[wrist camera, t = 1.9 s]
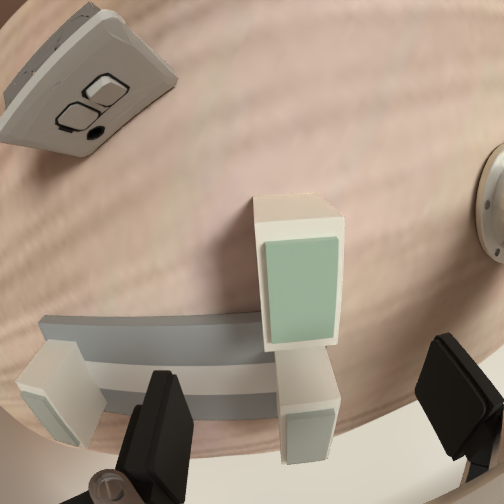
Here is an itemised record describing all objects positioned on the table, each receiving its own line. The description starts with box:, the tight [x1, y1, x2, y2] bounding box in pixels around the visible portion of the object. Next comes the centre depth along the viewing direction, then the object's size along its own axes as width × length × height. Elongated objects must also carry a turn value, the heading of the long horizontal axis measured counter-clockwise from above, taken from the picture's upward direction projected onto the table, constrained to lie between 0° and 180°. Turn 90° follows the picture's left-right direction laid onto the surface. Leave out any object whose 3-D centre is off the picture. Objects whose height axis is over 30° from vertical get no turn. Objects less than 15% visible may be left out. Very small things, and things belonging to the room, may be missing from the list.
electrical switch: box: [0, 2, 178, 158], centre depth 14 cm, size 9×5×9 cm, turn 122°
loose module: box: [253, 192, 345, 352], centre depth 19 cm, size 4×8×8 cm, turn 5°
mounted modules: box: [15, 339, 341, 465], centre depth 22 cm, size 27×9×8 cm, turn 95°
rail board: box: [38, 312, 327, 420], centre depth 26 cm, size 28×13×2 cm, turn 95°
